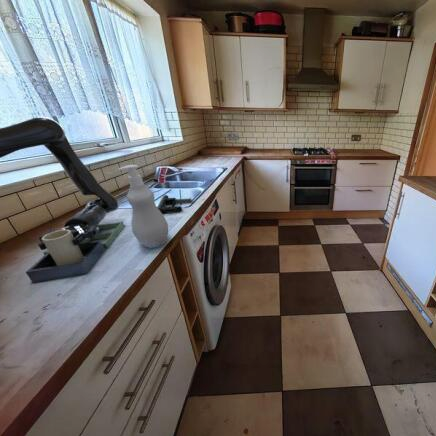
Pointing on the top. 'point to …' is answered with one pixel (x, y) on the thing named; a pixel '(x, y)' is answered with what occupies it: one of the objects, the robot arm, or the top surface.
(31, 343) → the top surface
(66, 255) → the cup
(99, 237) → the green divided tray
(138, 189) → the soap bottle
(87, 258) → the black tray
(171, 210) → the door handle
